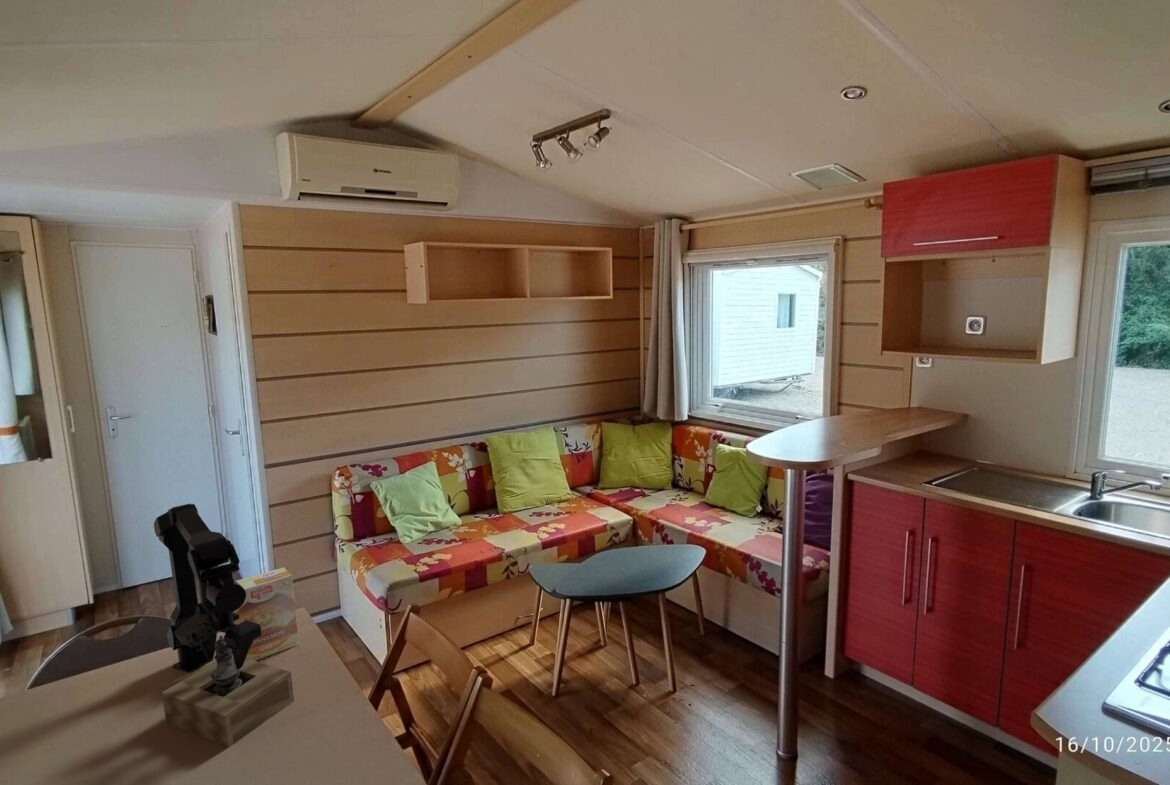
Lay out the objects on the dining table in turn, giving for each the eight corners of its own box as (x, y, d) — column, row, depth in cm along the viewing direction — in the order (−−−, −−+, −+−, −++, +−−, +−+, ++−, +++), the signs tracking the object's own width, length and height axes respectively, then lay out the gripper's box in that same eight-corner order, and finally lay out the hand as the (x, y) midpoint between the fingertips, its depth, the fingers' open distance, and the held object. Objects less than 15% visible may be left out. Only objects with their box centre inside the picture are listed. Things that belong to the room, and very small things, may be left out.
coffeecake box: (236, 668, 157) (227, 594, 154) (229, 656, 162) (220, 584, 159) (300, 644, 167) (292, 574, 163) (291, 634, 172) (283, 565, 169)
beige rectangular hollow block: (166, 722, 138) (161, 692, 137) (233, 680, 152) (230, 653, 151) (229, 747, 129) (224, 715, 128) (294, 700, 144) (290, 671, 143)
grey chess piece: (207, 695, 137) (199, 644, 134) (220, 678, 142) (213, 629, 140) (236, 693, 137) (228, 641, 135) (248, 676, 143) (240, 627, 141)
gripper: (150, 605, 133) (160, 674, 135) (209, 623, 125) (219, 695, 128) (201, 582, 143) (209, 647, 145) (259, 597, 135) (267, 665, 138)
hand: (225, 663), depth 139 cm, fingers open, 9 cm apart
